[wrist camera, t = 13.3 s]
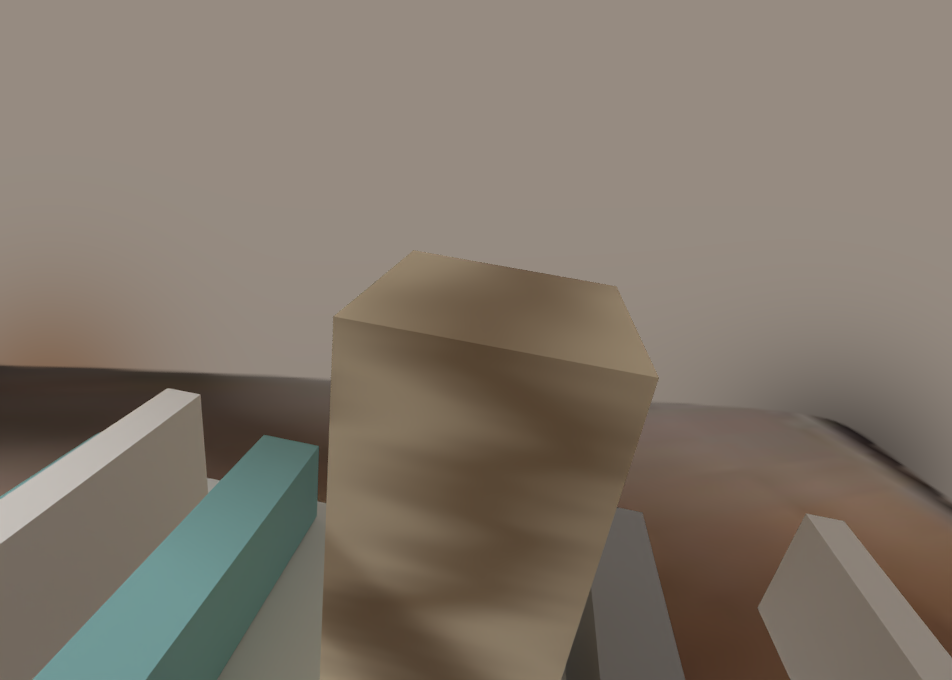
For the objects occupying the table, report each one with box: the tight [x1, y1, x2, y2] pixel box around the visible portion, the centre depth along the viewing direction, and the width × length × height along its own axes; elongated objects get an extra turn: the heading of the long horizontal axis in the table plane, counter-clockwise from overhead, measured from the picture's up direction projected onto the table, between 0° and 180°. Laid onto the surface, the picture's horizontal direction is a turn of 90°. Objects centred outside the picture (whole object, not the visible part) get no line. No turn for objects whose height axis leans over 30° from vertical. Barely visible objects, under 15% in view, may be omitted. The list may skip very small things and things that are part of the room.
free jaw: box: [0, 433, 319, 680], centre depth 17 cm, size 8×12×4 cm
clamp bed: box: [207, 478, 685, 680], centre depth 17 cm, size 25×14×6 cm, turn 82°
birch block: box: [320, 250, 659, 680], centre depth 15 cm, size 6×6×14 cm
